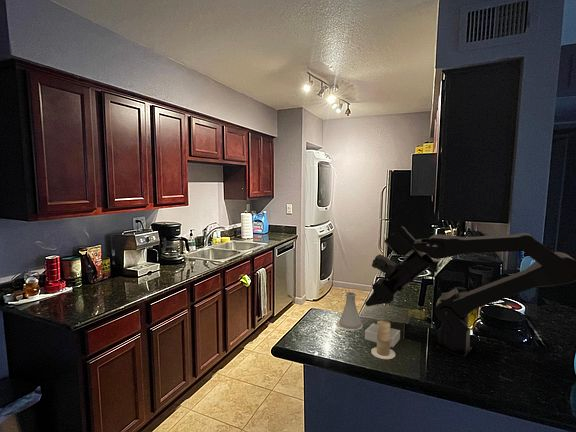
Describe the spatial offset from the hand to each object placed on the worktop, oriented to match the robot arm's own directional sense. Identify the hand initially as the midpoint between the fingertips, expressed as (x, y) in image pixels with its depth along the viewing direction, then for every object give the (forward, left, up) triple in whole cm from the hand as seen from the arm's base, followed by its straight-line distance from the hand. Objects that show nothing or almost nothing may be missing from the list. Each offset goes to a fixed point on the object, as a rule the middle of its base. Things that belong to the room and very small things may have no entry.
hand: (371, 300), depth 93 cm
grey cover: (-6, +3, -9) cm, 11 cm away
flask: (+6, +2, -9) cm, 11 cm away
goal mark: (+6, +2, -9) cm, 11 cm away
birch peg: (-10, +9, -9) cm, 16 cm away
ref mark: (-10, +9, -9) cm, 16 cm away
